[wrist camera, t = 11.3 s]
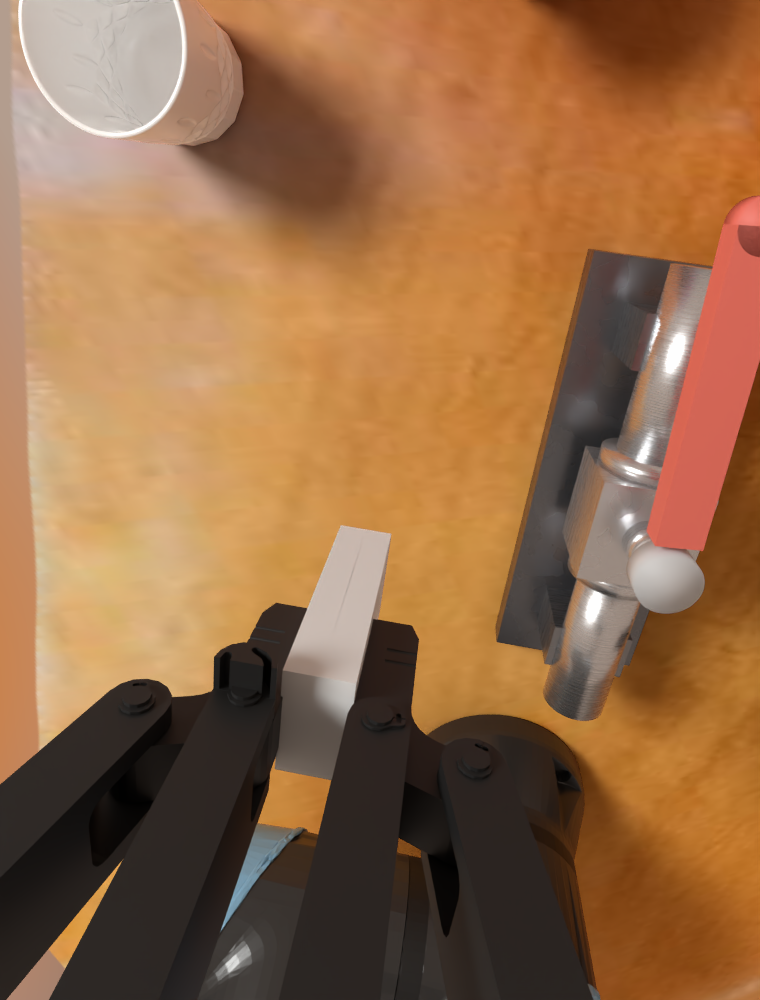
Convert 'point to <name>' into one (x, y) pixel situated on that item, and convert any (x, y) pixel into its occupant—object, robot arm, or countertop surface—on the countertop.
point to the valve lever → (704, 420)
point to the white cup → (134, 67)
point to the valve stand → (600, 474)
